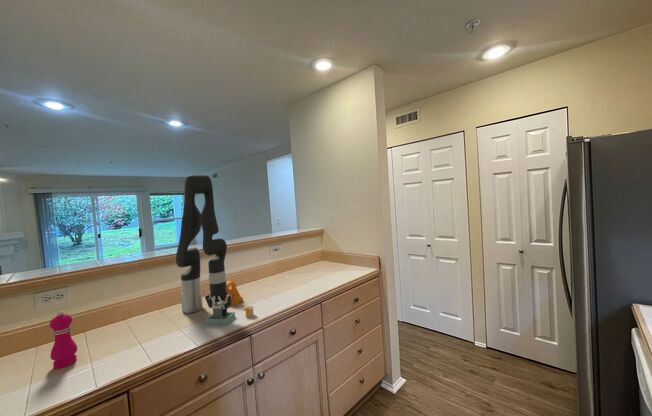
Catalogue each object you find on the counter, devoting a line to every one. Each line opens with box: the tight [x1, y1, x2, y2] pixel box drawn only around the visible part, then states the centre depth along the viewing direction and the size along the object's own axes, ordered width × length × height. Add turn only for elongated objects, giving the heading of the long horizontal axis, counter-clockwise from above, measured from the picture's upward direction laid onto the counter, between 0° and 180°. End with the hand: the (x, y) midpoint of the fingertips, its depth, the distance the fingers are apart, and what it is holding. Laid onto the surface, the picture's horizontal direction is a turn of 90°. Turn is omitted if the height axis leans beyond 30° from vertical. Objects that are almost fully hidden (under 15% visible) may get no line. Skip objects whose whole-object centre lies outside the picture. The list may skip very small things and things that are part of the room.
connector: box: [212, 302, 225, 319], centre depth 129 cm, size 4×4×6 cm
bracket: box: [226, 280, 244, 306], centre depth 152 cm, size 11×7×12 cm, turn 129°
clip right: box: [243, 306, 254, 318], centre depth 133 cm, size 4×3×4 cm
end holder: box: [205, 311, 236, 326], centre depth 129 cm, size 10×8×2 cm
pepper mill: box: [49, 310, 78, 369], centre depth 100 cm, size 7×7×20 cm
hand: (220, 315), depth 129 cm, fingers closed on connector, 4 cm apart
